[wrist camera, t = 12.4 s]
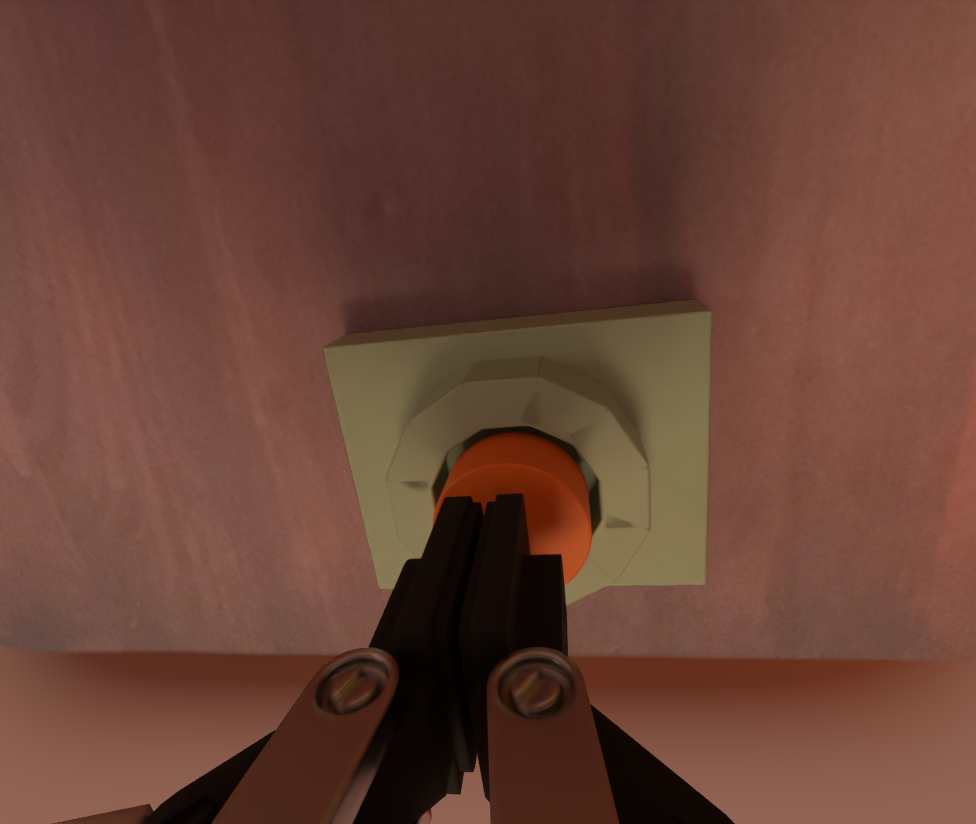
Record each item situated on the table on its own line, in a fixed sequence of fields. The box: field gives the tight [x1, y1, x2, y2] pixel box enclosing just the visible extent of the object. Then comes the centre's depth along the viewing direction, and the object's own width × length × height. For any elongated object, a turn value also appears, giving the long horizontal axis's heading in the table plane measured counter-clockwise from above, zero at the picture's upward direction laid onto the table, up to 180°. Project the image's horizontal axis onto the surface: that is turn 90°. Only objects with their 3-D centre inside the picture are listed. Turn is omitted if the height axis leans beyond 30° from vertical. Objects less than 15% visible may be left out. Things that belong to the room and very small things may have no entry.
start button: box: [432, 433, 592, 585], centre depth 13 cm, size 4×4×2 cm
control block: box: [323, 299, 712, 606], centre depth 15 cm, size 10×8×4 cm
